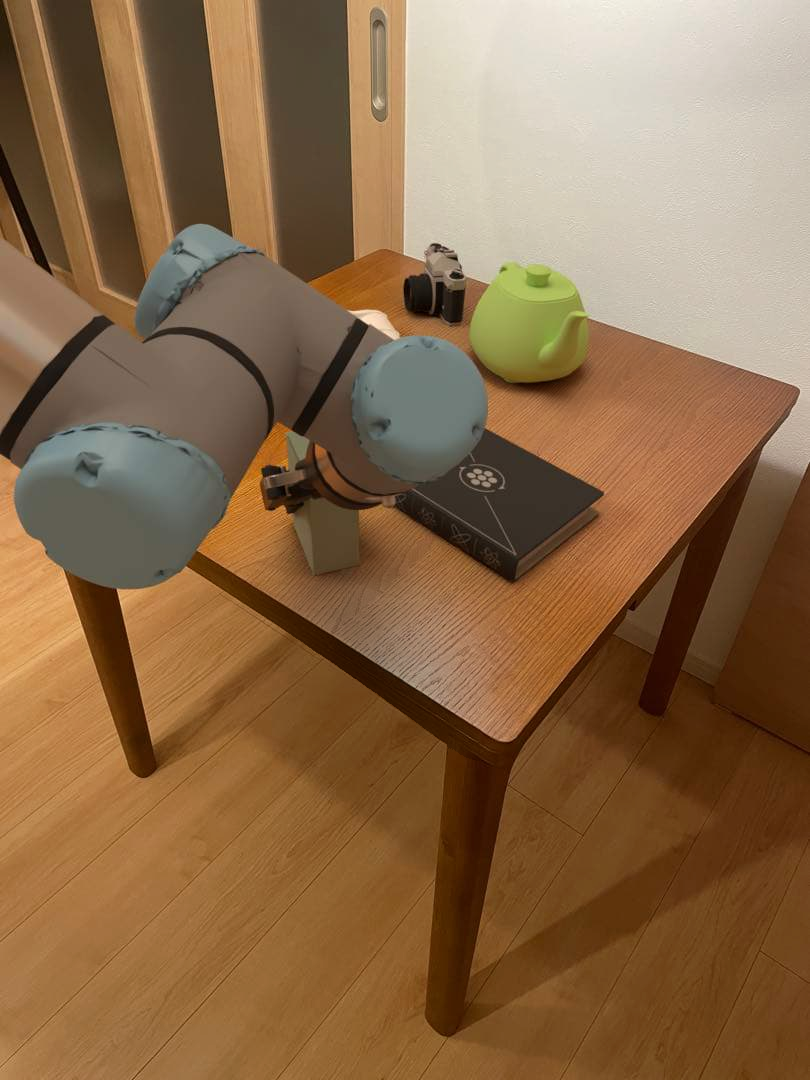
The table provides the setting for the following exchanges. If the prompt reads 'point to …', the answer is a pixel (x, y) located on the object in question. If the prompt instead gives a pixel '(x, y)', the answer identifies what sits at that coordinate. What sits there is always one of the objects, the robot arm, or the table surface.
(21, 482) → the robot arm
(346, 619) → the table surface
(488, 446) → the book
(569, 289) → the teapot
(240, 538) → the table surface
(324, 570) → the grey-green lidded box
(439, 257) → the camera
